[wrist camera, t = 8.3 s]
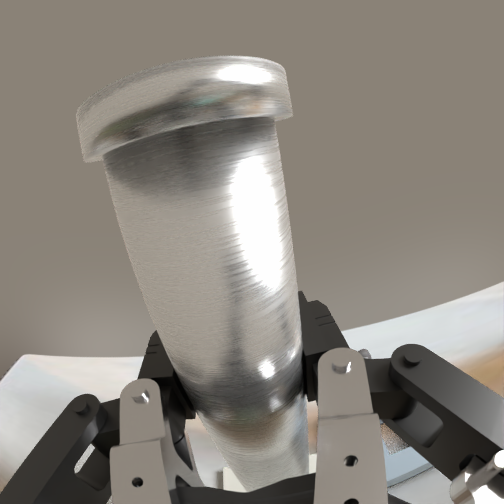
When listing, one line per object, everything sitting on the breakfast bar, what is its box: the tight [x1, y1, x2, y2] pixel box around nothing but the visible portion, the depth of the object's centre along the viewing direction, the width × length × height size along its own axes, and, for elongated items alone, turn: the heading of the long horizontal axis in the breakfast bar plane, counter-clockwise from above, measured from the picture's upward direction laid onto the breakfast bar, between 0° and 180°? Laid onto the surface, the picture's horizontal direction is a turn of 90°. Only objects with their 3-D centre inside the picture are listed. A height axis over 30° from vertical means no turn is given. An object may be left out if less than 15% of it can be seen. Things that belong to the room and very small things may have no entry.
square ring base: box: [358, 349, 433, 487], centre depth 23 cm, size 10×17×3 cm, turn 5°
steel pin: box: [76, 56, 309, 492], centre depth 8 cm, size 5×5×17 cm
